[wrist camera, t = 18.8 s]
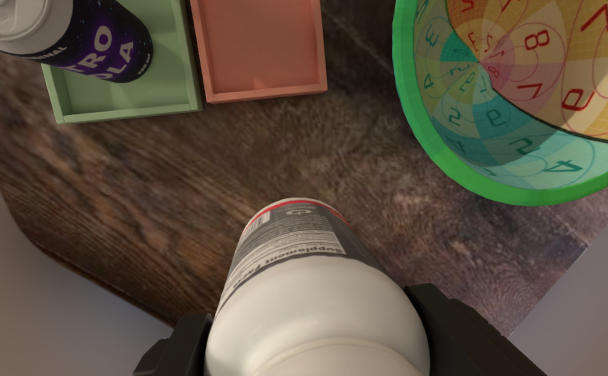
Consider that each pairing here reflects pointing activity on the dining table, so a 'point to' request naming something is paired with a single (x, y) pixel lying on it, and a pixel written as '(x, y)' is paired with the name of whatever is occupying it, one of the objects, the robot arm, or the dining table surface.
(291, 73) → the coral tray
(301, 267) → the pill bottle
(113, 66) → the beverage can
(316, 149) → the dining table surface
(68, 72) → the green tray
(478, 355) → the robot arm
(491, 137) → the bowl
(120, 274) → the dining table surface
